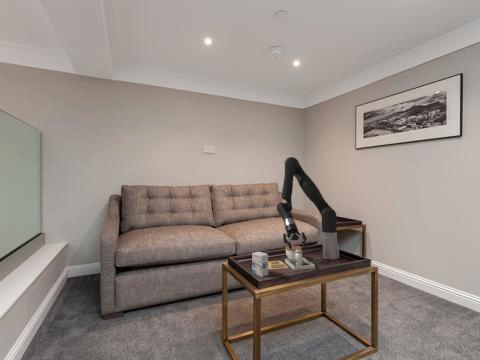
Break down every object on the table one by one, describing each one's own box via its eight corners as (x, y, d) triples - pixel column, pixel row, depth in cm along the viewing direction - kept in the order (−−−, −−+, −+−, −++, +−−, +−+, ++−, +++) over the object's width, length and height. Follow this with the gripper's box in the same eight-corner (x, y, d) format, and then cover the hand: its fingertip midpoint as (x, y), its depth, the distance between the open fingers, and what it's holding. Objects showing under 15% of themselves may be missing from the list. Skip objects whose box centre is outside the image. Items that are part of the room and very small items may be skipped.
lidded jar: (283, 257, 169) (282, 244, 169) (297, 256, 171) (297, 242, 172) (290, 262, 158) (289, 247, 159) (305, 260, 161) (304, 245, 161)
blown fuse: (301, 263, 152) (300, 249, 152) (303, 265, 148) (302, 250, 148) (294, 264, 151) (294, 249, 152) (297, 266, 147) (296, 251, 148)
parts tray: (304, 261, 159) (304, 257, 159) (315, 269, 142) (315, 265, 142) (285, 262, 157) (284, 258, 157) (294, 271, 141) (293, 266, 141)
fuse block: (282, 263, 157) (282, 259, 157) (288, 269, 145) (288, 265, 145) (264, 264, 155) (263, 260, 155) (268, 270, 143) (268, 266, 143)
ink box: (252, 274, 138) (251, 252, 139) (259, 272, 141) (258, 251, 142) (262, 278, 131) (261, 255, 132) (269, 276, 134) (268, 254, 135)
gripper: (281, 223, 160) (287, 245, 148) (302, 222, 162) (310, 243, 150) (279, 230, 165) (285, 252, 153) (299, 229, 167) (307, 250, 155)
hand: (297, 248), depth 152 cm, fingers open, 8 cm apart
